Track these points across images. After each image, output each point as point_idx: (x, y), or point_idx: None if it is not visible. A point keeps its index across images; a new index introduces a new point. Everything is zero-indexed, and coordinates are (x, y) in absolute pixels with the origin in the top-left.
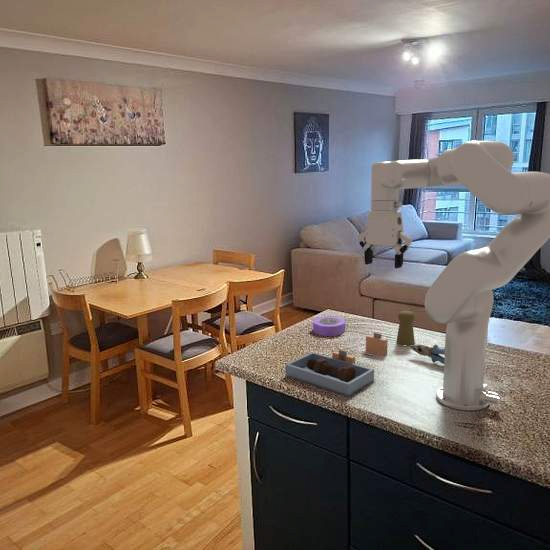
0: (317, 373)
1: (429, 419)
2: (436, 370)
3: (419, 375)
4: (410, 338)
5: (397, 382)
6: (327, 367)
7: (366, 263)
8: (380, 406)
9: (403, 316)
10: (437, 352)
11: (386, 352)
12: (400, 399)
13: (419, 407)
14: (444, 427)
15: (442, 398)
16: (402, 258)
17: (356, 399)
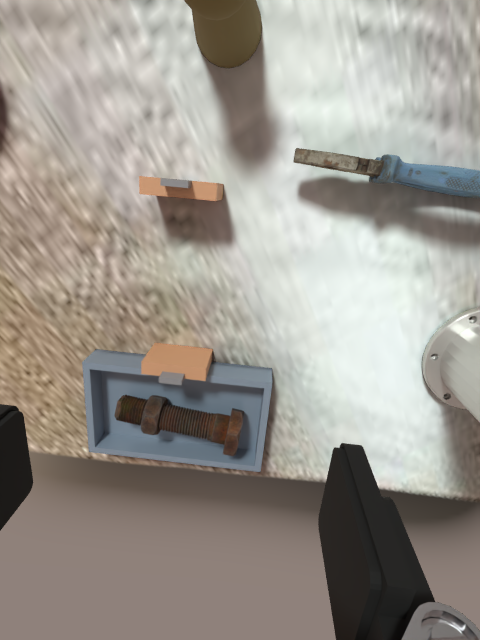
0: (175, 458)
1: (427, 457)
2: (390, 225)
3: (357, 282)
4: (252, 36)
5: (321, 347)
6: (178, 432)
7: (22, 495)
8: (329, 456)
9: (214, 11)
10: (396, 180)
11: (222, 189)
12: (355, 415)
13: (399, 427)
14: (457, 469)
15: (443, 395)
16: (410, 565)
17: (278, 453)
